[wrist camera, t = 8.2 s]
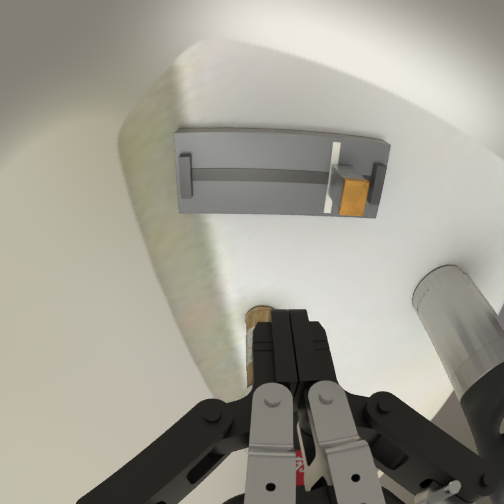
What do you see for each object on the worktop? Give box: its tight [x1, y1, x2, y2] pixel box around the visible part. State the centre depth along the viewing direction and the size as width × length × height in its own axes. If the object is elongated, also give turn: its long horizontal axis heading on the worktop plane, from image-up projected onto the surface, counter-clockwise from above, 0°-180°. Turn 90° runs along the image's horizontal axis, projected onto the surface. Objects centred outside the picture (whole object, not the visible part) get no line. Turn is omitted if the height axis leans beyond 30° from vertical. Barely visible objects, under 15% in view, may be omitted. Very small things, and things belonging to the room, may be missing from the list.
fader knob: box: [328, 164, 369, 216], centre depth 26 cm, size 2×3×4 cm
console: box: [174, 128, 390, 218], centre depth 28 cm, size 20×8×3 cm, turn 88°
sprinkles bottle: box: [245, 307, 272, 396], centre depth 35 cm, size 5×5×13 cm
